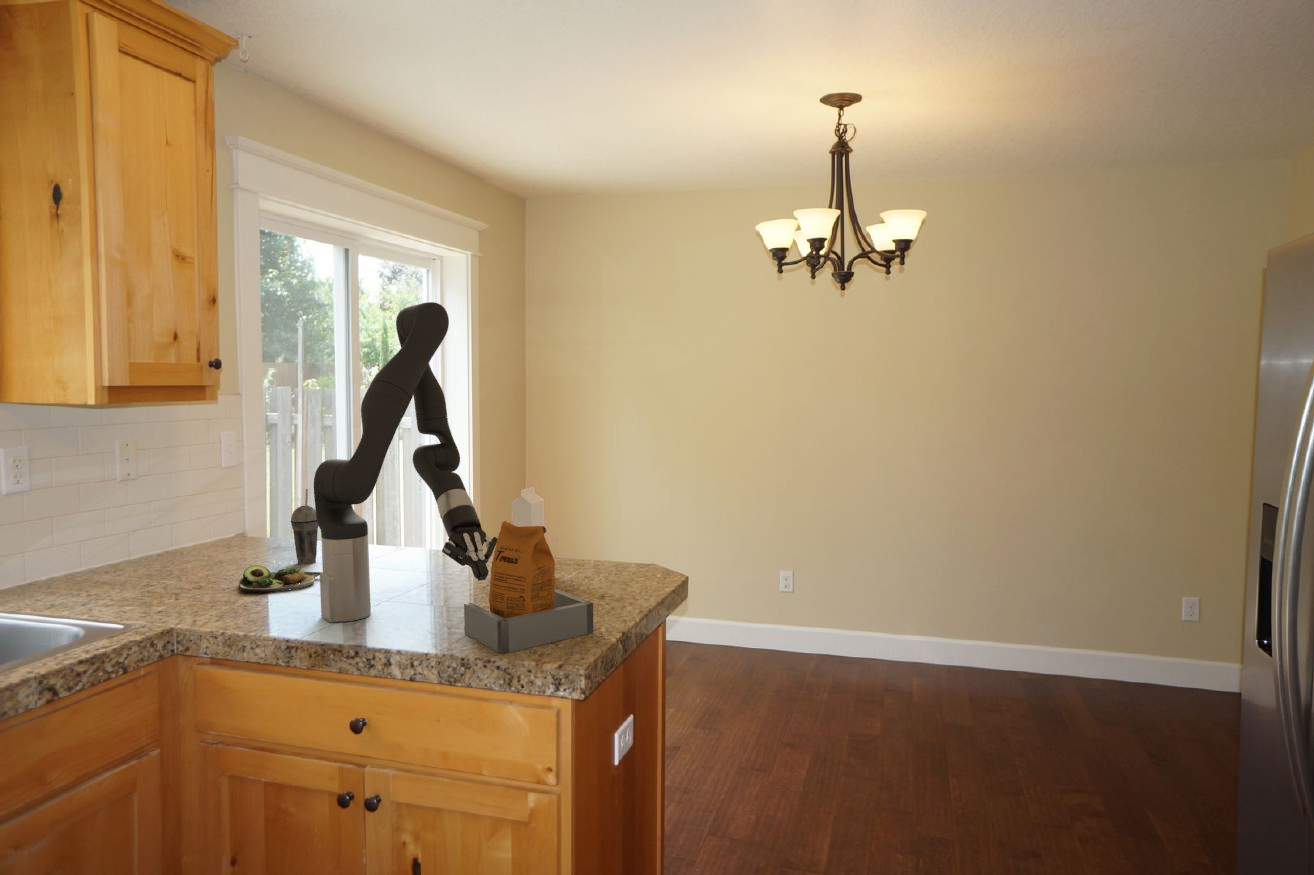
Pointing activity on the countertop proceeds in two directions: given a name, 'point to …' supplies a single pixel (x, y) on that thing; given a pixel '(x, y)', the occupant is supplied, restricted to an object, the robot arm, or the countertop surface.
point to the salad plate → (274, 579)
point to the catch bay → (530, 624)
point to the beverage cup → (305, 533)
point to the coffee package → (521, 572)
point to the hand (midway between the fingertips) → (483, 578)
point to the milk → (528, 509)
